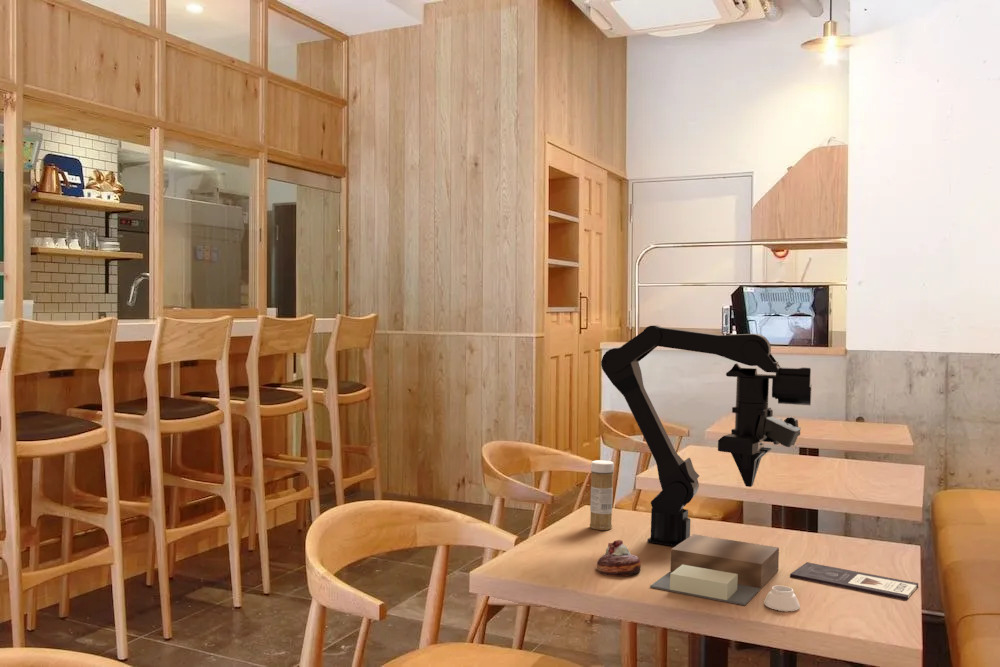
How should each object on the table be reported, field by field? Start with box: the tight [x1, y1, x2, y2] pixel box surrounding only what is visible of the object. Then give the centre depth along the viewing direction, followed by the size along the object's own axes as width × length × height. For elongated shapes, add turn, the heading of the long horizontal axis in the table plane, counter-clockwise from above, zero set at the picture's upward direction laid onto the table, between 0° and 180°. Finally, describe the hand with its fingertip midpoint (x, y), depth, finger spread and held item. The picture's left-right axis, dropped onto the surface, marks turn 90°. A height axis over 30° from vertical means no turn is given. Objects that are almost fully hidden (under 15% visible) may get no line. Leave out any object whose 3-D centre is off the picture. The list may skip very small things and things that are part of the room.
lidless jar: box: [763, 585, 801, 613], centre depth 132 cm, size 5×3×5 cm
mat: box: [649, 571, 761, 606], centre depth 140 cm, size 15×9×1 cm, turn 60°
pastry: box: [596, 539, 642, 577], centre depth 149 cm, size 8×8×5 cm
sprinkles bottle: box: [589, 459, 615, 531], centre depth 177 cm, size 5×5×14 cm
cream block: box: [670, 565, 738, 600], centre depth 138 cm, size 9×6×2 cm, turn 60°
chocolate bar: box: [789, 561, 919, 601], centre depth 146 cm, size 9×1×18 cm
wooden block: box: [669, 533, 780, 590], centre depth 149 cm, size 15×12×4 cm
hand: (749, 486), depth 162 cm, fingers closed
